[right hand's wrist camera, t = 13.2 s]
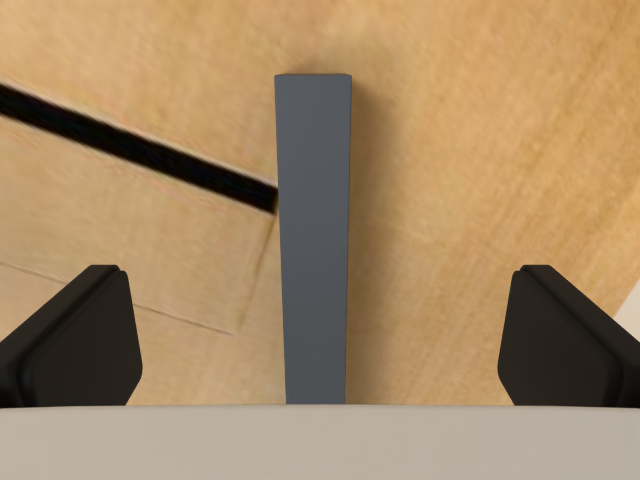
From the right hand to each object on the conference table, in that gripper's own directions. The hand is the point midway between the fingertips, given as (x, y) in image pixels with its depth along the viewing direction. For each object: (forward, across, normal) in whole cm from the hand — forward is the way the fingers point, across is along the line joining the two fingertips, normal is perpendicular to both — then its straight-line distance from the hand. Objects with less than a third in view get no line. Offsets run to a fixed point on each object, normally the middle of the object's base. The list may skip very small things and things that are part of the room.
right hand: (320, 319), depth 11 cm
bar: (+28, 0, +26) cm, 38 cm away
